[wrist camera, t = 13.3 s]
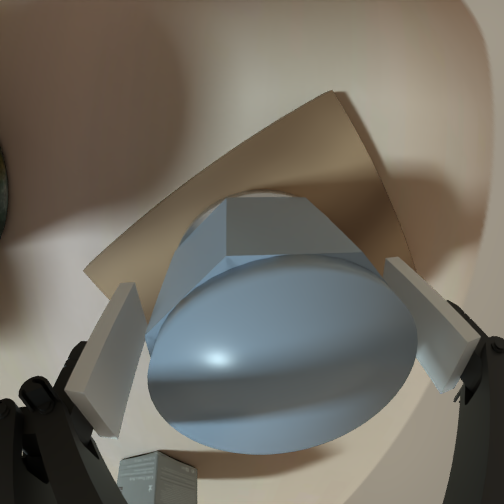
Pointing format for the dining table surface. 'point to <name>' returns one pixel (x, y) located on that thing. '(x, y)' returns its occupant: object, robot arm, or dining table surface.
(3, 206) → the mug
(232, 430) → the cap
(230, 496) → the dining table surface
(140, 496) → the skincare box
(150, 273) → the base board
